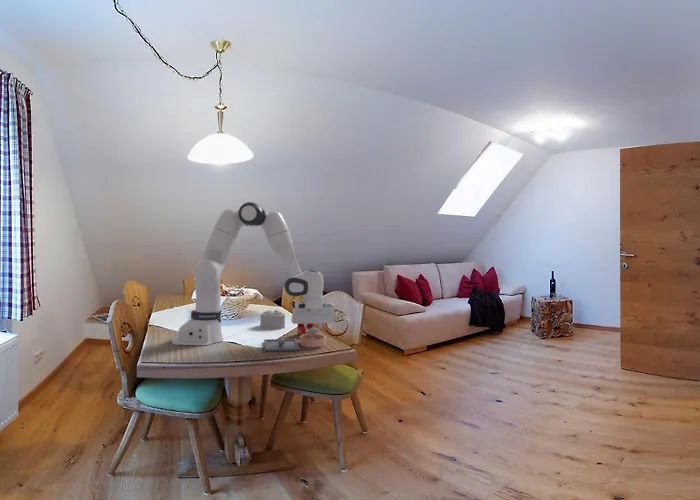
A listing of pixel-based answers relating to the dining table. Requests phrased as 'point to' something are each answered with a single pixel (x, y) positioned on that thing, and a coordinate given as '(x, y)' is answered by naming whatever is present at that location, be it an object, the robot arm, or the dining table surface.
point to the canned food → (303, 329)
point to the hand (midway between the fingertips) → (312, 332)
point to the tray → (273, 345)
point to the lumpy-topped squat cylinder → (272, 319)
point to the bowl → (307, 342)
